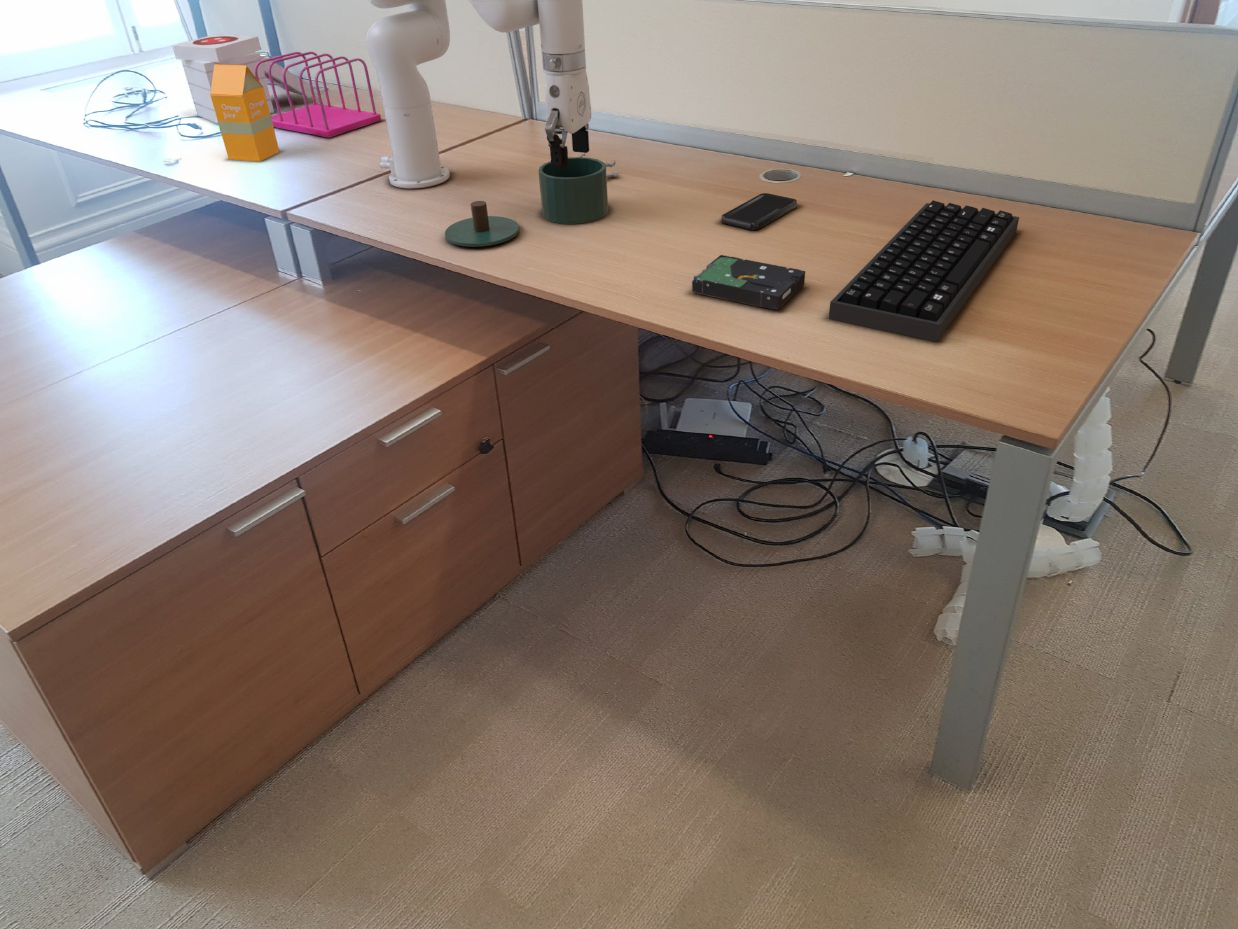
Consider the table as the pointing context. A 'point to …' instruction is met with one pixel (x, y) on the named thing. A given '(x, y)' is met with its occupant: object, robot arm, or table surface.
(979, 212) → the computer keyboard
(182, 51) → the pizza boxes
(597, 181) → the tin
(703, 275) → the disk drive
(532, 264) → the table surface
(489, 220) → the lid
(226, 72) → the orange juice
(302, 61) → the file sorter
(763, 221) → the phone
